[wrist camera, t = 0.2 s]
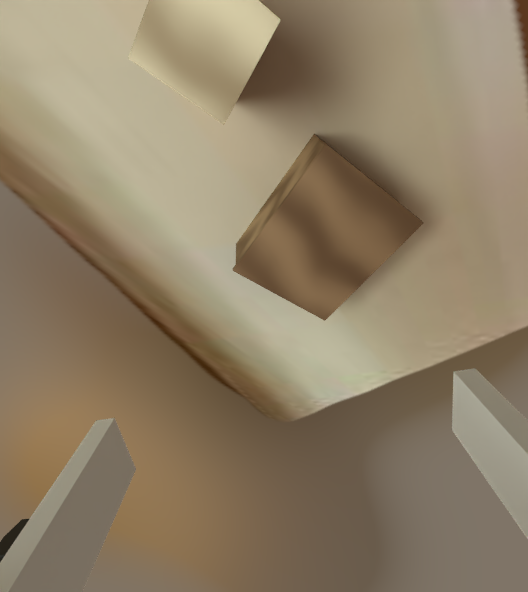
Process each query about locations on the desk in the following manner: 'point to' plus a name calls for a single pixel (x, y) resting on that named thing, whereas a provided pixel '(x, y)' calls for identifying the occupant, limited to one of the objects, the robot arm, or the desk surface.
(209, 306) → the desk surface
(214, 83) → the oak block
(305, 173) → the walnut box
